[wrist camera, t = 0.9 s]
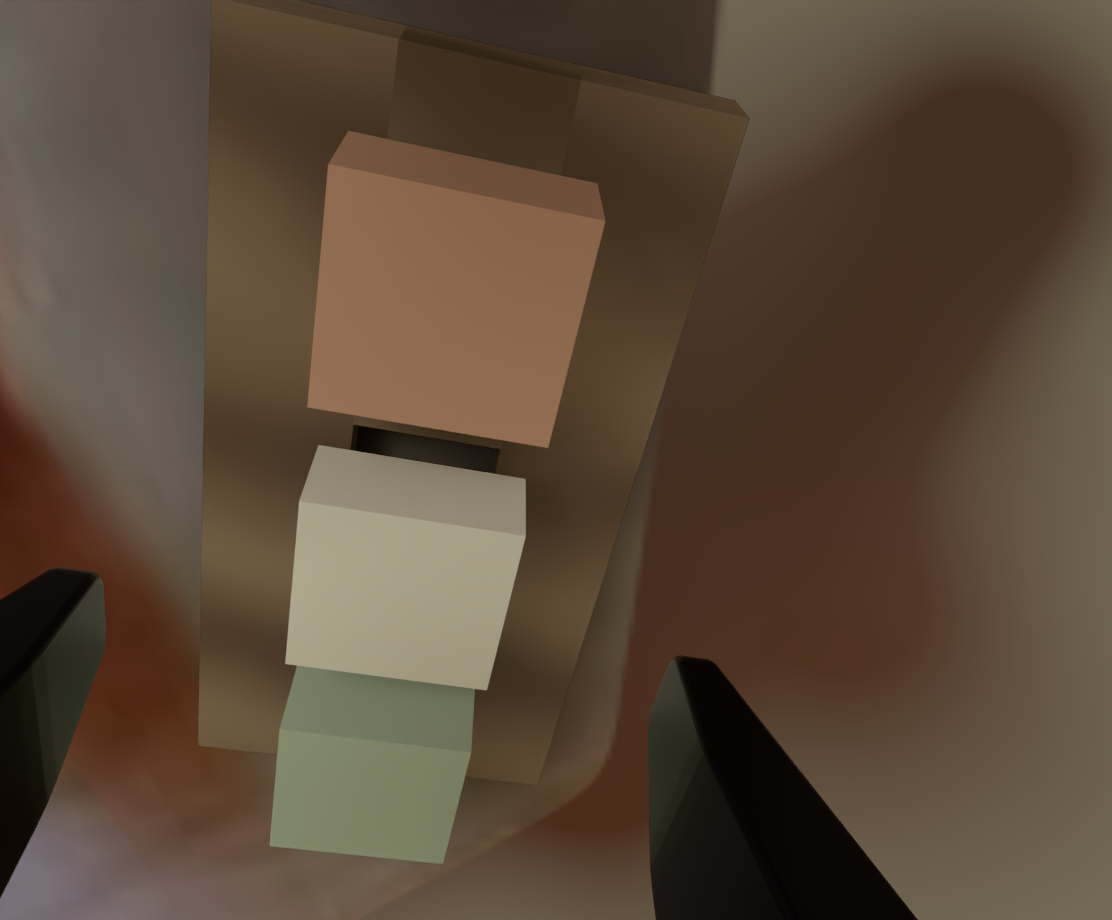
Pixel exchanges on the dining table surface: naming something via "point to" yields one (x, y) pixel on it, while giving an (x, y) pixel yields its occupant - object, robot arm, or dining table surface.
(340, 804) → the pale green cube
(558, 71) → the walnut panel
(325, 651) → the white cube
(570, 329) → the salmon tan cube
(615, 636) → the dining table surface
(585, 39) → the dining table surface
